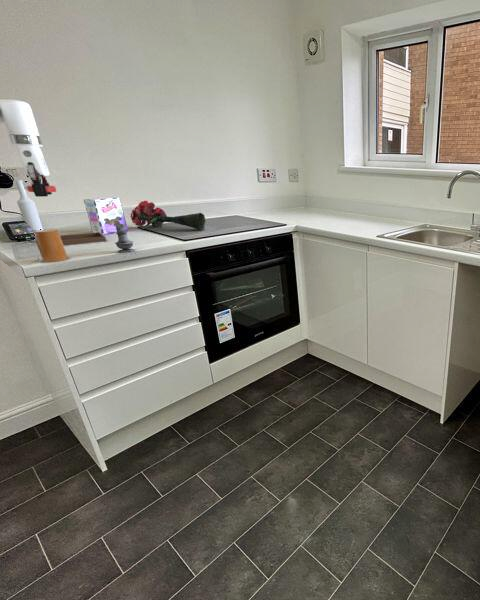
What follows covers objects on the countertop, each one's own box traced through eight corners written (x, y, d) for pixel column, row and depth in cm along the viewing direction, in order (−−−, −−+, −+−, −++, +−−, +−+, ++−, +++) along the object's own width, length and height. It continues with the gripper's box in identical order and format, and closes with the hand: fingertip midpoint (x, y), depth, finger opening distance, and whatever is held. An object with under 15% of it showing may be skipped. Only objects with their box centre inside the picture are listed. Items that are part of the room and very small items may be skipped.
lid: (57, 190, 130) (56, 185, 129) (54, 192, 124) (53, 186, 124) (30, 190, 126) (29, 185, 125) (26, 192, 120) (24, 186, 120)
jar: (43, 263, 122) (33, 232, 118) (42, 259, 126) (31, 230, 122) (68, 260, 127) (59, 230, 123) (66, 256, 131) (57, 228, 127)
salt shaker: (131, 248, 144) (123, 219, 140) (138, 250, 142) (131, 221, 137) (114, 251, 140) (106, 221, 135) (121, 253, 137) (113, 222, 133)
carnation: (205, 243, 190) (136, 239, 186) (213, 217, 199) (147, 212, 195) (194, 224, 177) (119, 219, 172) (203, 197, 185) (132, 192, 181)
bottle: (47, 238, 156) (27, 179, 147) (46, 240, 152) (26, 180, 143) (31, 239, 153) (10, 179, 144) (29, 242, 149) (8, 180, 140)
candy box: (103, 235, 167) (93, 199, 161) (92, 234, 168) (82, 198, 162) (128, 230, 180) (120, 197, 174) (118, 229, 180) (109, 196, 174)
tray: (60, 245, 145) (58, 241, 145) (56, 240, 154) (55, 236, 153) (106, 241, 156) (105, 236, 155) (100, 236, 164) (99, 232, 163)
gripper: (36, 141, 115) (54, 197, 121) (46, 142, 128) (61, 193, 134) (3, 139, 110) (23, 198, 117) (17, 141, 123) (34, 193, 130)
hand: (43, 195), depth 125 cm, fingers closed on lid, 7 cm apart
